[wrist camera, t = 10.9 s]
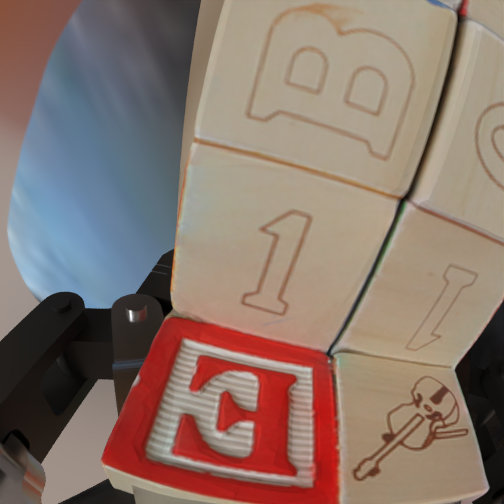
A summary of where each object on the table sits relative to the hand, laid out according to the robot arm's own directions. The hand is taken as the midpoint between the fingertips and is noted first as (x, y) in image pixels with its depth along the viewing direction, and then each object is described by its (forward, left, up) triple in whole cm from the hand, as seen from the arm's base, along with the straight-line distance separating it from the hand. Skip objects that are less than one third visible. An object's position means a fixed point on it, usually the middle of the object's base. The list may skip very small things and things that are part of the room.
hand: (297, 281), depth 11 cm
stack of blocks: (0, 0, -4) cm, 4 cm away
